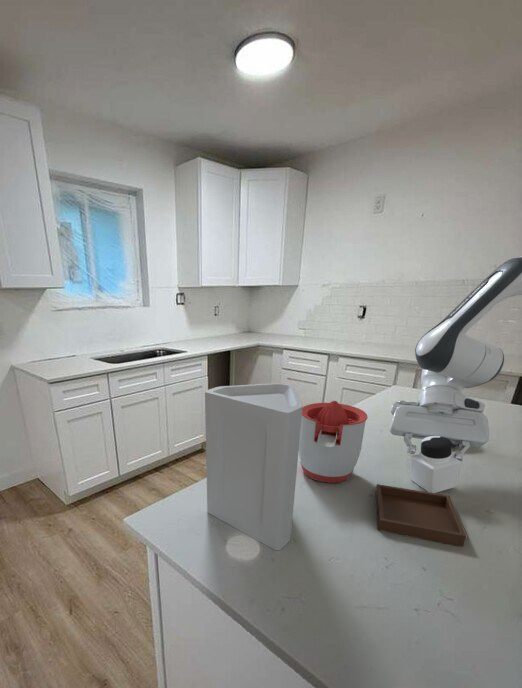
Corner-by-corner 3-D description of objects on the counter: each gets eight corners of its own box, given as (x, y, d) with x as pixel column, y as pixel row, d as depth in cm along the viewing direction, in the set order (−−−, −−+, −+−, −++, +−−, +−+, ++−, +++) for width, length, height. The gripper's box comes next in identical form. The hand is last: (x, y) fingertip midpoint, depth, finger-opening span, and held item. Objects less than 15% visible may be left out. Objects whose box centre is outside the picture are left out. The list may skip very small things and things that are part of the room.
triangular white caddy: (316, 517, 78) (331, 392, 67) (278, 551, 69) (288, 413, 58) (246, 485, 91) (249, 376, 80) (205, 511, 81) (202, 391, 70)
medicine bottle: (458, 486, 85) (463, 442, 80) (431, 494, 85) (434, 450, 80) (435, 472, 92) (438, 430, 87) (409, 479, 91) (411, 437, 86)
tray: (446, 505, 81) (449, 495, 80) (463, 547, 68) (466, 536, 67) (374, 493, 86) (376, 484, 85) (377, 530, 73) (380, 519, 72)
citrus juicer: (287, 484, 91) (293, 409, 83) (301, 455, 105) (307, 389, 97) (354, 497, 84) (368, 417, 77) (359, 464, 99) (370, 394, 91)
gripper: (395, 394, 91) (388, 444, 87) (493, 404, 84) (491, 460, 80) (390, 405, 97) (383, 453, 93) (482, 416, 89) (479, 468, 85)
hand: (434, 456), depth 86 cm, fingers open, 8 cm apart
